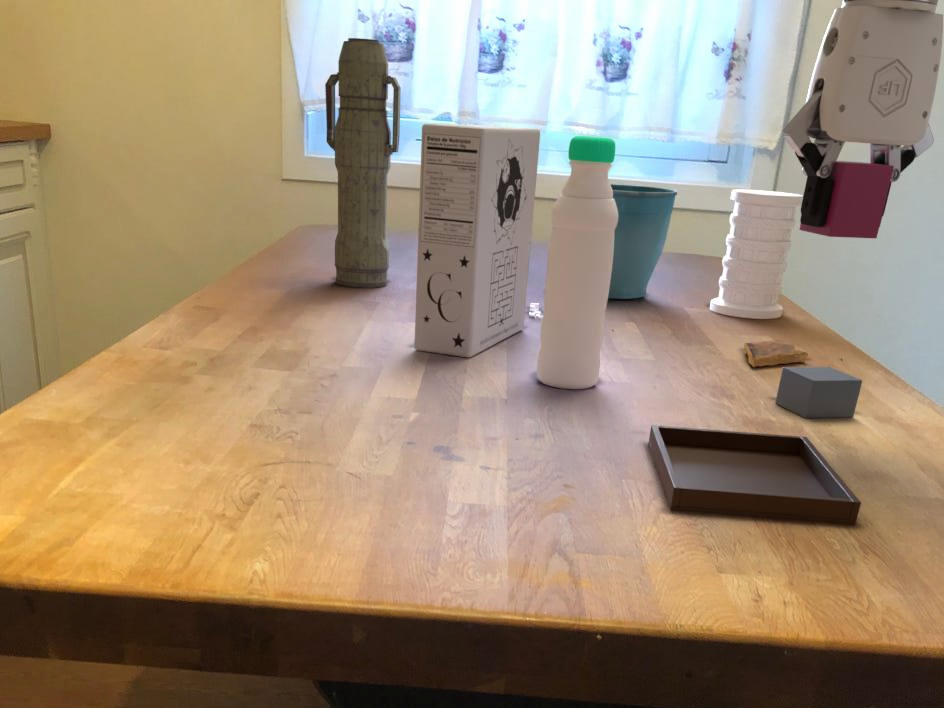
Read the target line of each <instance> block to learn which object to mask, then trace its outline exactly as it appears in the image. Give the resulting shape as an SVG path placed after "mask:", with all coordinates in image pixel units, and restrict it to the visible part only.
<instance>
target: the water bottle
mask: <svg viewBox="0 0 944 708" xmlns="http://www.w3.org/2000/svg"><path fill="white" fill-rule="evenodd" d="M615 157H616V142H615V140H614V139H612V138H610V137H602V136H590V135H589V136H588V135H576V136H573V137H572V138H571V140H570V142H569V146H568V159H569V161H568V165H569V166H570V169H571V170H570V174H569V177H568V179H567V180H566V181H565V183H564V185H563V186H562V188H561V194H559V195H558V197H557V199H556V201H555V203H554V204H553V207H552V208H551V209H552V210H551V224H552V228H551V233H550V238H549V244H548V250H547V251H548V253H547V261H546V268H545V269H546V270H545V280H544V281H545V282H544V300H543V302H544V303H543V308H544V310H543V311H544V312H543V315H544V316H543V315H542V317H543V318H542V319H541V323H540V324H541V325H540V333H539V335H540V337H539V339H540V340H539V341H540V349H539V352H538V357H537V365H536V377H537V379H538V381H539V382H541V383H542V384H543V385H546V386H549V387H552V388H556V389H557V388H558V389H564V390H565V389H566V390H585V389H589V388H592V387H593V386H595V385H596V384H597V383H598V380H599V378H600V371H601V370H600V368H601V349H602V346H603V343H604V335H605V314H606V310H607V305H608V300H609V298H608V294H609V287H610V280H611V272H612V263H613V252H614V230H615V228H616V226H617V223H618V210H617V206H616V203H615V200H614V198H613V190H612V187H611V185H610V184H611V183H610V181H609V171H610V169H611V168H612V167H613V164H612V163H614V161H615Z"/></svg>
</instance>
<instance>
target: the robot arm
mask: <svg viewBox="0 0 944 708" xmlns="http://www.w3.org/2000/svg"><path fill="white" fill-rule="evenodd" d="M938 2H939V0H842V3H841V6H840V7H836V8H835V9H834V11H833V13H832V16H831V18H830V21H829V23H828V26H827V29H826V31H825V34H824V36H823V39H822V43H821V46H820V48H819V51H818V55H817V58H816V61H815V64H814V68H813V71H812V77H811V79H810V84H809V88H808V92H807V96H806V101H805V104H803V106H801V108H800V109H799V110H798V112H797V113H796V114H795V115H794V116H793V117H792V118H791V119H790V120H789V122H788V123H787V124H786V125H785V126H784V128H783V129H782V136H783V138H784V139H785V141H786V142H787V144H788V145H789V147H790V148H791V150H793V151H794V154H795V156H796V158H797V159H798V162H799V164H800V165H801V167H802V174H803V176H805V177H806V181H805V187H804V191H803V194H802V195H803V200H802V205H800V221H799V222H800V224H804V225H809V226H813V227H823V226H824V225H825V223H826V219H827V214H828V210H829V205H830V201H831V196H832V192H833V187H834V179H830V178H829V177H830V174H831V171H832V169H833V167H834V165H835V163H836V161H838V158H839V156H840V154H841V151H842V150H843V147H844V145H845V143H858V144H870V146H869V147H870V149H869V150H870V152H869V154H870V156H869V157H870V158H869V159H870V161H869V163H873V164H882V165H892V166H894V168H893V172H892V177H891V181H890V185H889V189H888V193H887V197H886V201H885V205H884V210H883V214H882V218H881V222H880V226H879V228H880V227H881V224H882V219H883V217H884V215H885V212H886V207H887V203H888V199H889V195H890V190H891V187H892V183H895V182H897V181H898V180H899V179H900V177H901V174H902V173H903V172H904V171H905V170H906V169H907V168H908V167H909V166H910V165H911V164H912V163H913V162H914V161H915V159H916V158H918V157H920V156H921V155H922V154H923V153H924V152H926V151H928V150H929V148H931V147H932V146H933V144H934V142H935V141H934V140H935V139H934V136H933V132H932V130H931V127H930V124H929V123H930V117H931V113H932V108H933V104H934V100H935V99H934V98H935V94H936V88H937V82H938V77H939V71H940V65H941V57H942V48H943V38H944V37H943V35H944V14H943V13H938V12H937V13H936V10H937V7H938ZM811 139H814V141H813V142H812V140H811Z"/></svg>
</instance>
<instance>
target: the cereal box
mask: <svg viewBox="0 0 944 708" xmlns="http://www.w3.org/2000/svg"><path fill="white" fill-rule="evenodd" d="M540 140H541V130H540V129H538V128H528V127H527V128H526V127H515V126H499V125H498V126H497V125H483V124H482V125H481V124H480V125H479V124H448V123H447V124H446V123H445V124H444V123H424V124H422V126H421V143H420V145H421V146H420V177H419V204H418V205H419V206H418V207H419V208H418V234H417V262H416V288H415V289H416V292H415V293H416V294H415V321H414V349H415V350H416V351H419V352H427V353H433V354H440V355H447V356H454V357H461V358H469V359H470V358H472V357H473V356H475V355H477V354H479V353H481V352H483V351H485V350H487V349H489V348H490V347H492V346H494V345H496V344H498V343H500V342H502V341H504V340H505V339H507V338H509V337H511V336H513V335H515V334H517V333H518V332H521V331H522V330H524V327H525V316H526V305H527V293H528V283H529V282H528V280H529V271H530V270H529V269H530V260H531V246H532V235H533V225H534V224H533V222H534V221H533V220H534V212H535V202H536V201H535V199H536V189H537V177H538V166H539V165H538V164H539V155H540V154H539V153H540V152H539V151H540V142H541V141H540Z"/></svg>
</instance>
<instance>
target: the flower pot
mask: <svg viewBox="0 0 944 708" xmlns="http://www.w3.org/2000/svg"><path fill="white" fill-rule="evenodd" d="M610 185H611V187H612V190H613V198H614V200H615V203H616V206H617V210H618V223H617V226H616V228H615V230H614V252H613V263H612V272H611V280H610V287H609V294H608V299H612V300H618V299H619V300H633V299H641V298H643V297H645V296H646V295H647V288H648V284H649V282H650V280H651V277H652V275H653V273H654V270H655V268H656V266H657V263H658V262H659V260H660V258H661V256H662V252H663V250H664V248H665V244H666V240H667V238H668V237H667V236H668V232H669V227H670V223H671V218H672V214H673V211H674V205H675V200H676V196H677V195H678V190H676V189H671V188H664V187H658V186H657V187H656V186H647V185H636V184H635V185H634V184H633V185H632V184H616V183H610Z"/></svg>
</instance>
